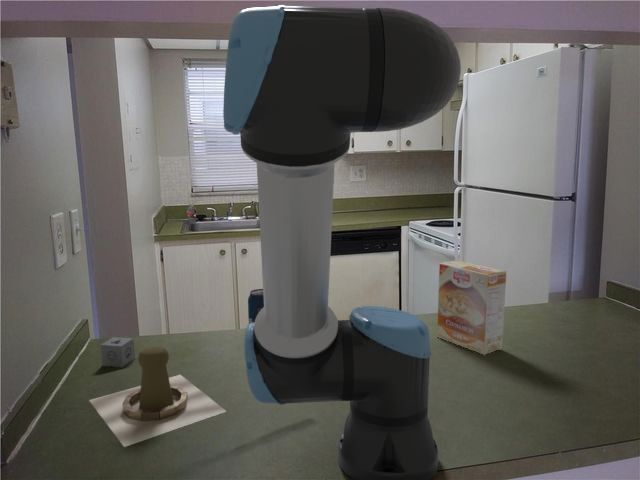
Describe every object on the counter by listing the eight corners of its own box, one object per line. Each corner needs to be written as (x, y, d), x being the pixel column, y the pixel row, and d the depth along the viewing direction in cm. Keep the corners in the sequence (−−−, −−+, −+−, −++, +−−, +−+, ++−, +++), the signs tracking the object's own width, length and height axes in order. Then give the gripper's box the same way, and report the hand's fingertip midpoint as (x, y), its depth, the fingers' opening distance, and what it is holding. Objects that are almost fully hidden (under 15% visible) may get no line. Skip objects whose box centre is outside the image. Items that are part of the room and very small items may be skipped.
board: (226, 417, 92) (226, 411, 92) (124, 453, 81) (124, 446, 81) (180, 379, 108) (180, 374, 108) (89, 406, 97) (88, 400, 97)
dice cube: (102, 366, 115) (100, 344, 114) (115, 357, 120) (113, 337, 119) (122, 367, 114) (121, 346, 114) (134, 359, 119) (133, 338, 118)
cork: (163, 415, 91) (160, 355, 89) (132, 412, 92) (128, 353, 90) (179, 399, 97) (176, 343, 95) (149, 396, 98) (146, 341, 96)
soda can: (268, 330, 138) (267, 286, 136) (280, 338, 132) (280, 292, 130) (244, 335, 134) (243, 290, 132) (256, 343, 128) (254, 296, 126)
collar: (197, 407, 93) (197, 400, 93) (136, 427, 87) (135, 419, 86) (172, 386, 102) (172, 379, 102) (115, 403, 95) (115, 395, 95)
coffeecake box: (435, 337, 132) (438, 262, 129) (455, 332, 136) (458, 259, 133) (483, 356, 120) (487, 274, 116) (503, 350, 123) (507, 270, 120)
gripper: (351, 133, 92) (351, 250, 96) (274, 136, 112) (276, 234, 115) (318, 132, 88) (319, 255, 91) (243, 136, 107) (246, 237, 110)
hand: (295, 243), depth 103 cm, fingers open, 13 cm apart
